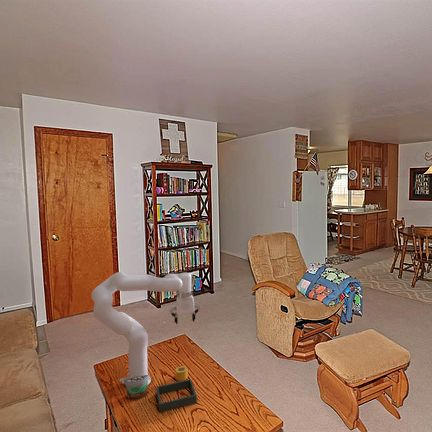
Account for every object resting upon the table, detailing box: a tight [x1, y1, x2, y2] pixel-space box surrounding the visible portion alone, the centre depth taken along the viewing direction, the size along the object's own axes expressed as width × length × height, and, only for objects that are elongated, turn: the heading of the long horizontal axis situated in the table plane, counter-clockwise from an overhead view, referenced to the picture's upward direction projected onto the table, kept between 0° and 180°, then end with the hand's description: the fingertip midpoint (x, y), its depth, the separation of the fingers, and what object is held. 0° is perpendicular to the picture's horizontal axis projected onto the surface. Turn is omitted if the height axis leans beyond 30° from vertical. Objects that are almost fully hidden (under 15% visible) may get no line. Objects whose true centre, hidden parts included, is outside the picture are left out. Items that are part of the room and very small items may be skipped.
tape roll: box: [174, 365, 189, 382], centre depth 194 cm, size 7×7×5 cm
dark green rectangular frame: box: [156, 378, 197, 413], centre depth 175 cm, size 18×16×4 cm
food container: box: [123, 373, 150, 400], centre depth 175 cm, size 12×6×10 cm, turn 118°
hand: (185, 322), depth 202 cm, fingers open, 9 cm apart
